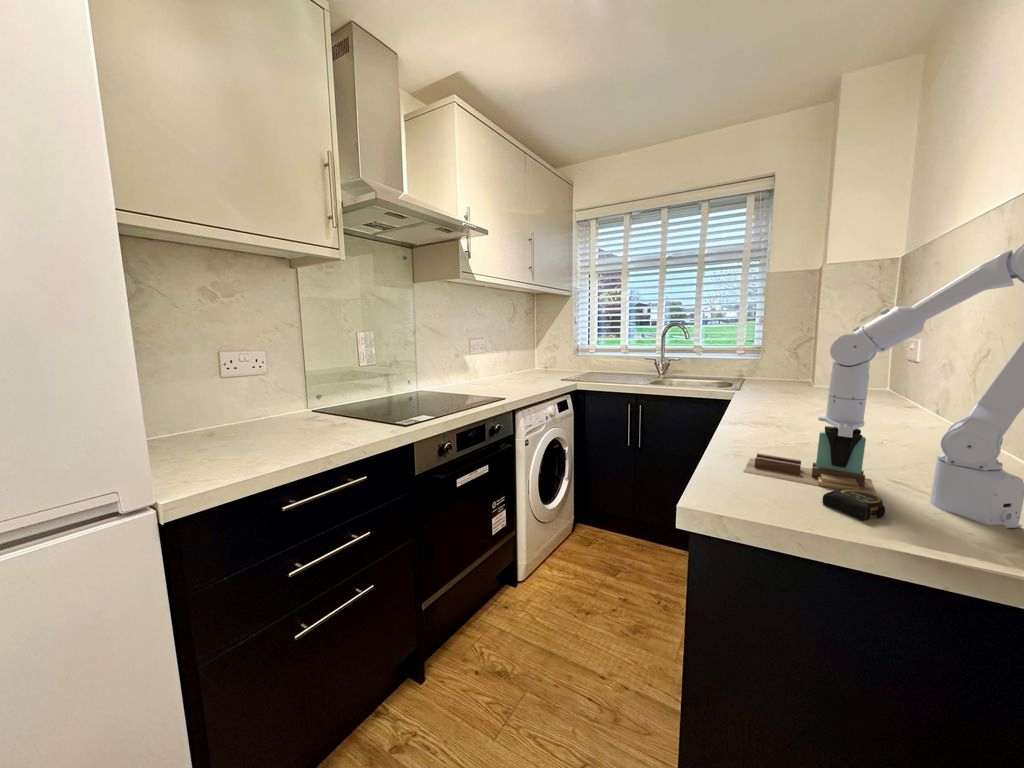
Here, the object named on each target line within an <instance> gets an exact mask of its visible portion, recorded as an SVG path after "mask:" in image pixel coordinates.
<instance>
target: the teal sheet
mask: <svg viewBox="0 0 1024 768" xmlns="http://www.w3.org/2000/svg"><path fill="white" fill-rule="evenodd" d="M866 440H867V438H866V436H862V439H861V440H860V441H859V442H858V443H857V444H856V446H855V447H854V449H853V451H852V454H851V456H850V459H849V461H848V464H847V466H846V467H845V468H844V467H838V466H832V462H831V451H830V444H829V440H828V438H827V436H826V433H825V431H821V430H820V431H819V436H818V444H817V452H816V453H817V454H816V460H815V461H816V462H815V463H816V467H819V468H825V469H831V470H837V471H843V472H849V473H855V474H861V472H862V470H863V465H864V463H863V462H864V457H865V447H866Z"/></svg>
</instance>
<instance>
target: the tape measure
mask: <svg viewBox="0 0 1024 768" xmlns="http://www.w3.org/2000/svg"><path fill="white" fill-rule="evenodd" d="M822 505H824V506H826V507H828V508H831V509H834V510H836V511H838V512H840V513H843V514H845V515H847V516H850V517H851V518H854V519H857V520H859V521H862V522H865V521H869V520H871V519H872V520H873V519H874V520H875V519H880V518H882V517H883V516H885V514H886V509H885V508H886V507H885V506H884V502H883V500H882V499H881V498H880V497H879V496H878V495H877V496H875V495H873V494H870V493H867V492H863V491H860V490H855V489H837V490H835V489H833V490H832V491H829V492H826V493H824V494H823V495H822Z"/></svg>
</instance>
